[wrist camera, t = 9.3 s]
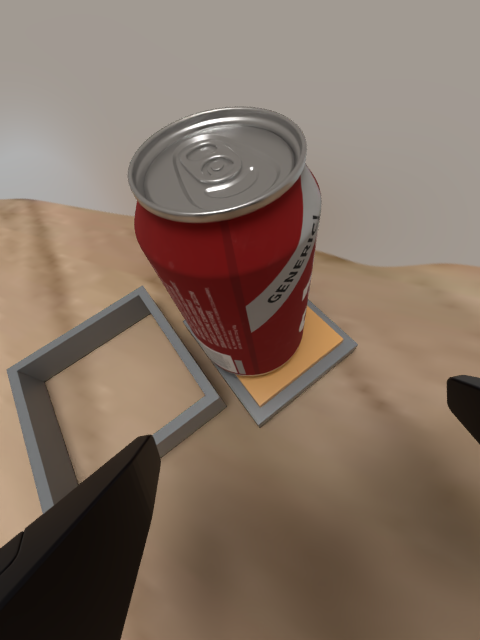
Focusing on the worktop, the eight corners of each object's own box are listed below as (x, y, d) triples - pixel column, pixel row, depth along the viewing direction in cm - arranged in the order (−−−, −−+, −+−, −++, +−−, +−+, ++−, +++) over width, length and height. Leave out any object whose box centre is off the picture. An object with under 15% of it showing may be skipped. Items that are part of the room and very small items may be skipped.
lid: (354, 350, 19) (360, 340, 17) (259, 427, 17) (257, 423, 16) (269, 271, 23) (268, 258, 22) (186, 327, 21) (180, 317, 20)
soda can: (234, 401, 17) (155, 276, 6) (186, 321, 20) (83, 151, 9) (324, 342, 18) (384, 153, 7) (265, 275, 21) (249, 79, 11)
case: (227, 406, 18) (219, 397, 16) (78, 521, 16) (46, 528, 14) (155, 303, 23) (142, 285, 21) (34, 380, 21) (6, 369, 19)
